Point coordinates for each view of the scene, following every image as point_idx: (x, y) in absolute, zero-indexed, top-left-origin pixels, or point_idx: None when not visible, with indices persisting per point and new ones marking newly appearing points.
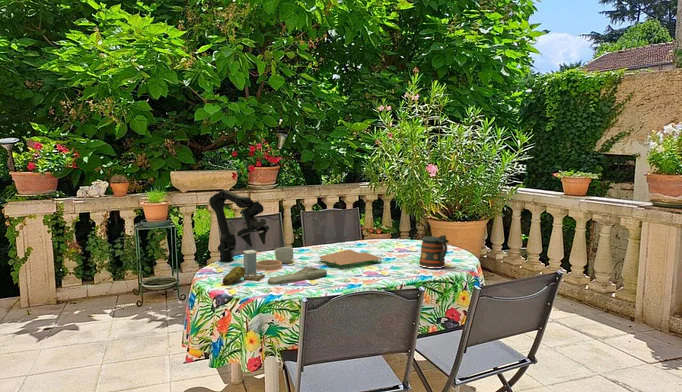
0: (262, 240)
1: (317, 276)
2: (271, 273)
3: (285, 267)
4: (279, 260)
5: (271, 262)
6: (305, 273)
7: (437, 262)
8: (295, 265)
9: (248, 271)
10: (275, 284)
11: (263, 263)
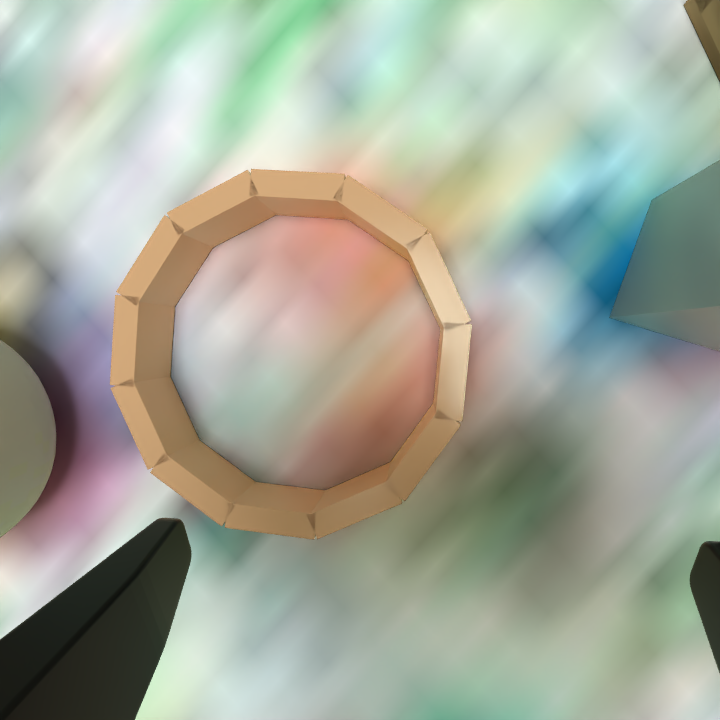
0: (119, 681)
1: None
2: (457, 130)
3: (145, 227)
4: (50, 414)
5: (175, 433)
6: None
7: None
8: (4, 211)
9: None
10: None
11: (264, 492)
